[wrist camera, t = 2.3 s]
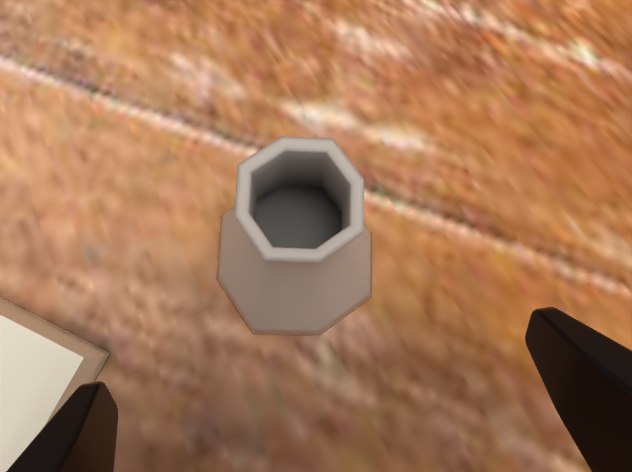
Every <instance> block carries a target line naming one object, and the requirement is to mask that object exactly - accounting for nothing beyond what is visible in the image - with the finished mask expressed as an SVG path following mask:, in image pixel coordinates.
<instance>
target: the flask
mask: <svg viewBox="0 0 632 472" xmlns="http://www.w3.org/2000/svg"><path fill="white" fill-rule="evenodd" d="M217 281H218V282H219V284H220V285H221V287H222V288H223V290H224V291H225V293H226V294H227V296H228V297H229V299H230V300H231V302H232V303H233V305H234V306H235V308H236V309H237V311H238V312H239V314H240V315H241V317H242V318H243V320H244V321H245V323H246V324H247V326H248V327H249V328H250V330H251V331H252V333H253V334H279V335H317V336H319V335H321V334H322V333H324V332H325V331H326V330H328V329H329V328H330V327H332V326H333V325H335V324H336V323H337V322H339V321H340V320H341V319H343V318H344V317H345V316H347V315H348V314H350V313H351V312H352V311H354V310H355V309H356V308H358V307H359V306H361V305H362V304H363V303H365V302H366V301H367V300H369V299H370V298H372V233H371V232H370V231H369V229H368V228H367V227H366V225H365V224H364V179H363V178H362V176H361V175H360V174H359V172H358V171H357V170H356V168H355V167H354V166H353V164H352V163H351V162H350V160H349V159H348V158H347V156H346V155H345V154H344V152H343V151H342V150H341V148H340V147H339V146H338V144H337V143H336V142H335V140H334V139H324V138H303V137H280V138H279V139H277V140H275V141H274V142H272V143H271V144H269V145H268V146H266V147H264V148H263V149H261V150H260V151H258V152H257V153H255V154H253V155H252V156H250V157H249V158H247V159H246V160H244V161H242V162H241V163H239V164H238V170H237V186H236V202H235V207H234V208H232V209H231V210H229V211H228V212H226V213H225V214H223V215H222V216H221V222H220V237H219V251H218V266H217Z"/></svg>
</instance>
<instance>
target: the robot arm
mask: <svg viewBox="0 0 632 472" xmlns="http://www.w3.org/2000/svg"><path fill="white" fill-rule="evenodd" d="M525 340H526V345H527V347H528V350H529V352H530V354H531V356H532V358H533V361H534V363H535V365H536V367H537V369H538V372H539V374H540V376H541V378H542V380H543V383H544V385H545V387H546V389H547V391H548V394H549V396H550V398H551V400H552V402H553V404H554V406H555V408H556V410H557V412H558V414H559V416H560V418H561V419H562V421H563V423H564V425H565V426H566V428H567V430H568V431H569V433H570V435H571V437H572V438H573V440H574V442H575V443H576V445H577V447H578V449H579V450H580V452H581V454H582V455H583V457H584V459H585V460H586V462H587V464H588V466H589V467H590V469H591V471H592V472H632V351H631V350H629V349H627V348H626V347H624V346H622V345H620V344H619V343H617V342H615V341H613V340H612V339H610V338H608V337H606V336H604V335H603V334H601V333H599V332H597V331H596V330H594V329H592V328H590V327H589V326H587V325H585V324H583V323H581V322H580V321H578V320H576V319H574V318H573V317H571V316H569V315H567V314H566V313H564V312H562V311H560V310H558V309H556V308H554V307H546V308H540V309H536V310H534V311H533V312H532V314H531V317H530V321H529V324H528V328H527V331H526V335H525ZM117 424H118V409H117V405H116V403H115V401H114V399H113V398H112V396H111V394H110V392H109V390H108V388H107V387H106V385H105V383H103V382H101V381H98V382H92V383H86V384H82V385H80V386H79V387H78V388H77V389H76V390H75V391H74V392H73V393H72V395H71V396H70V397H69V398H68V399H67V400H66V402H65V403H64V404H63V405H62V406H61V408H60V409H59V410H58V411H57V412H56V413H55V415H54V416H53V417H52V418H51V419H50V420H49V422H48V423H47V424H46V425H45V426H44V428H43V429H42V430H41V431H40V432H39V433H38V435H37V436H36V437H35V438H34V439H33V440H32V442H31V443H30V444H29V445H28V446H27V447H26V449H25V450H24V451H23V452H22V453H21V455H20V456H19V457H18V458H17V459H16V460H15V462H14V463H13V464H12V465H11V466H10V467H9V469H8V470H7V471H6V472H113V471H114V459H115V447H116V435H117Z"/></svg>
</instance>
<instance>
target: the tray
mask: <svg viewBox="0 0 632 472" xmlns="http://www.w3.org/2000/svg"><path fill="white" fill-rule="evenodd" d="M109 354H110V353H109V352H107V351H105V350H104V349H102V348H100V347H98V346H96V345H94V344H92V343H90V342H88V341H86V340H84V339H82V338H80V337H78V336H76V335H74V334H72V333H70V332H68V331H66V330H64V329H62V328H60V327H58V326H57V325H55V324H53V323H51V322H49V321H47V320H45V319H43V318H41V317H39V316H37V315H35V314H33V313H31V312H29V311H27V310H25V309H23V308H21V307H19V306H17V305H15V304H13V303H11V302H10V301H8V300H6V299H4V298H2V297H0V472H6V471H7V470H8V469H9V467H10V466H11V465H12V464H13V463H14V462H15V460H16V459H17V458H18V457H19V456H20V455H21V453H22V452H23V451H24V450H25V449H26V447H27V446H28V445H29V444H30V443H31V442H32V440H33V439H34V438H35V437H36V436H37V435H38V433H39V432H40V431H41V430H42V429H43V428H44V426H45V425H46V424H47V423H48V422H49V420H50V419H51V418H52V417H53V416H54V415H55V413H56V412H57V411H58V410H59V409H60V408H61V406H62V405H63V404H64V403H65V402H66V400H67V399H68V398H69V397H70V396H71V395H72V393H73V392H74V391H75V390H76V389H77V388H78V387H79V386H80V385H82V384H86V383H92V382H94V381H95V379H96V377H97V376H98V374H99V372H100V370H101V369H102V367H103V365H104V363H105V362H106V360H107V358H108V356H109Z"/></svg>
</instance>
